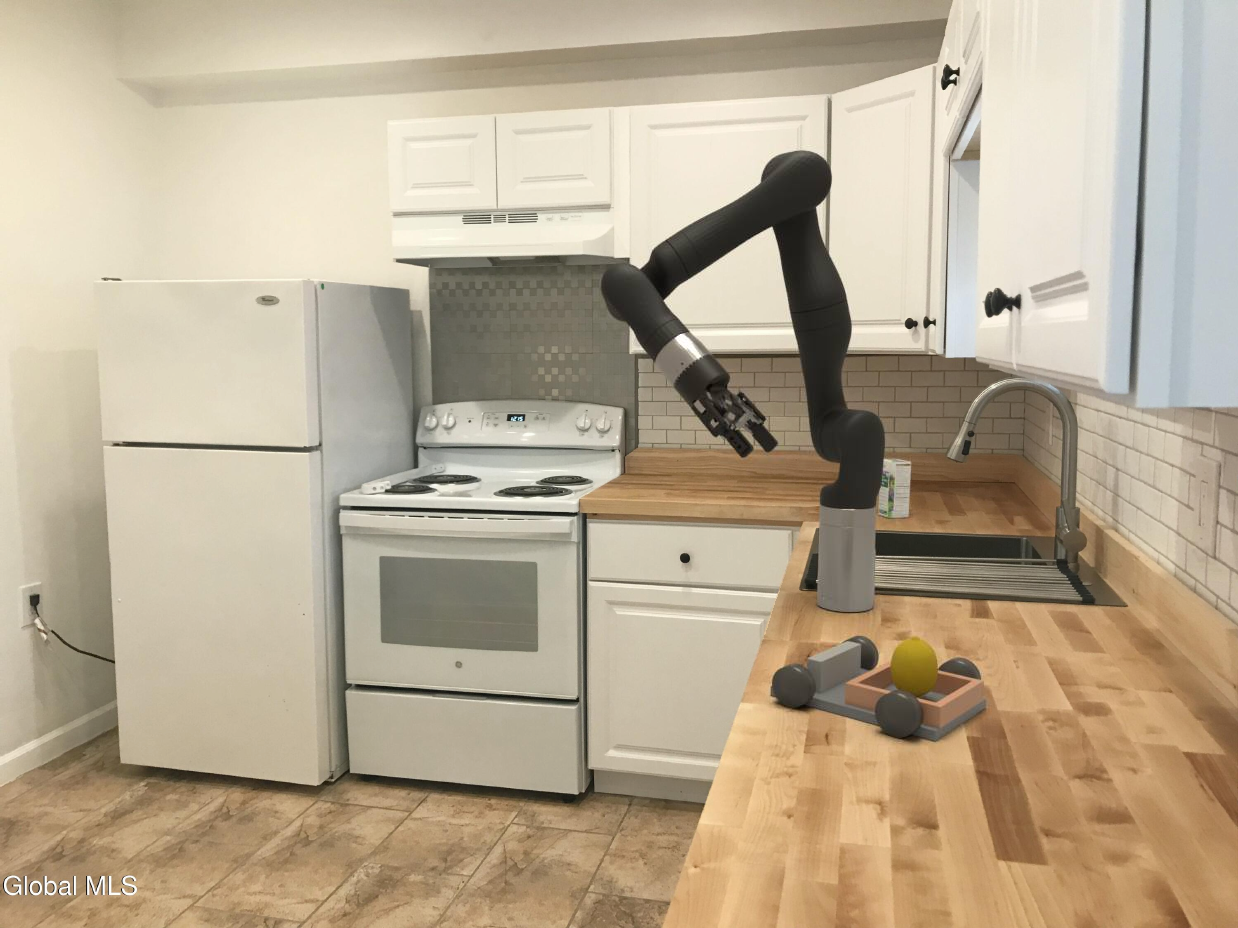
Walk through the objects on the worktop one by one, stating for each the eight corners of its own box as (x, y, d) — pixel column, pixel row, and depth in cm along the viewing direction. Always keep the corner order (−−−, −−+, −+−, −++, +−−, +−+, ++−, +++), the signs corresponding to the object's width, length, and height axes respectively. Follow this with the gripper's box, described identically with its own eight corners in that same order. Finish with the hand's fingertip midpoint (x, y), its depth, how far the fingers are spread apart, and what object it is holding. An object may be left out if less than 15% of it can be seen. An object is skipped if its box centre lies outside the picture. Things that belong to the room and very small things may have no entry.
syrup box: (877, 515, 260) (879, 458, 259) (897, 513, 262) (899, 458, 260) (889, 518, 255) (891, 461, 253) (910, 517, 257) (912, 460, 255)
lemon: (906, 710, 120) (909, 644, 119) (880, 695, 125) (882, 631, 124) (946, 705, 122) (949, 640, 121) (918, 690, 127) (921, 628, 126)
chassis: (835, 665, 140) (836, 628, 140) (992, 703, 126) (994, 662, 125) (761, 699, 127) (762, 659, 127) (927, 746, 113) (929, 701, 112)
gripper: (685, 353, 144) (758, 438, 139) (729, 352, 156) (798, 430, 151) (652, 389, 147) (722, 473, 143) (698, 385, 159) (764, 463, 155)
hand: (761, 451), depth 147 cm, fingers open, 8 cm apart
